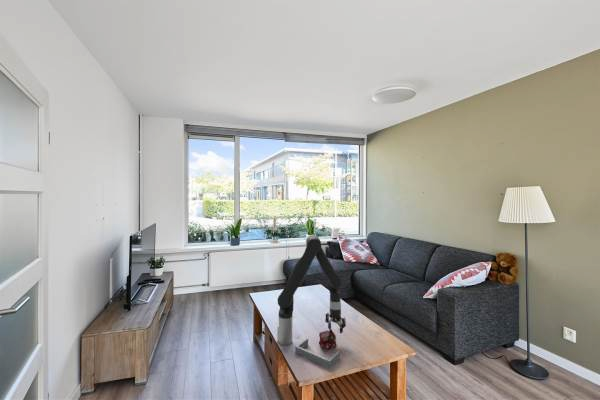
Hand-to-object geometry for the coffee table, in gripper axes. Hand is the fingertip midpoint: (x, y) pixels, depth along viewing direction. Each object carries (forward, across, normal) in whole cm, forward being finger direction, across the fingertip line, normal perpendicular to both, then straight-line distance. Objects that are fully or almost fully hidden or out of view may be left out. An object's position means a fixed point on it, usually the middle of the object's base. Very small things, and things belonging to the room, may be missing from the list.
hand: (335, 331), depth 184 cm
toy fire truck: (+7, 0, -9) cm, 11 cm away
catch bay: (+6, 0, -21) cm, 22 cm away
